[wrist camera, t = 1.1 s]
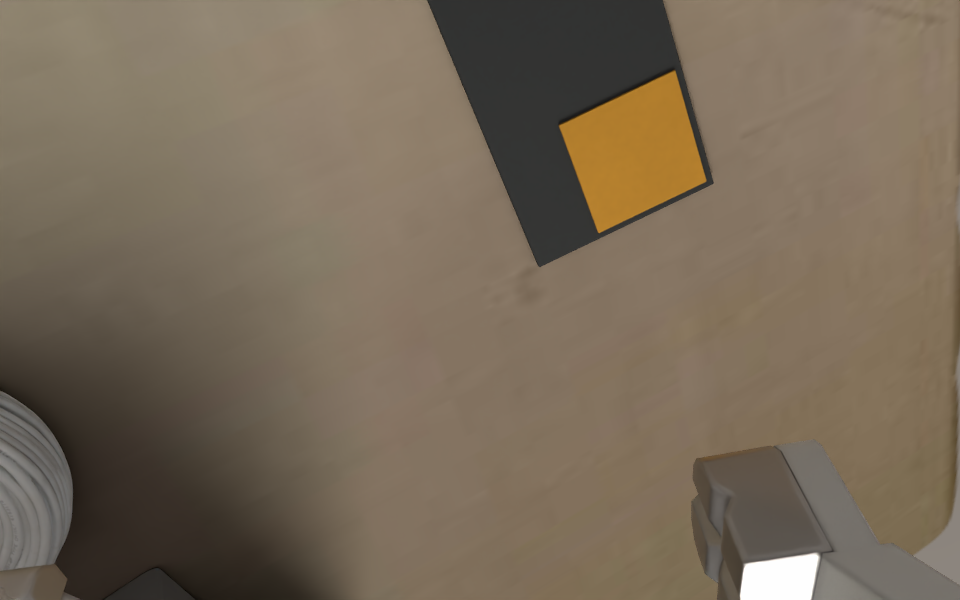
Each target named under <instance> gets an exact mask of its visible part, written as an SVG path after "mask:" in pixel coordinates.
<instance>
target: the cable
mask: <svg viewBox="0 0 960 600" xmlns="http://www.w3.org/2000/svg"><path fill="white" fill-rule="evenodd" d="M72 502H73V485H72V477H71V472H70V468H69V466H68V463H67V460H66V458H65V455H64V453H63V451H62V449H61V447H60V445H59V443H58V442H57V440H56V438H55V436H54V435H53V433H52V432H51V431H50V429H49V428H48V427H47V426H46V424H45V423H44V422H43V421H42V420H41V419H40V418H39V417H38V416H37V415H36V414H35V413H34V412H33V411H32V410H30V409H29V408H28V407H26V406H25V405H23V404H22V403H21V402H19V401H18V400H16V399H15V398H13V397H11V396H10V395H8V394H6V393H4V392H2V391H0V571H4V570H11V569H18V568H26V567H33V566H41V565H50V564H54V563H55V561H56V559H57V557H58V554H59V552H60V550H61V548H62V546H63V544H64V542H65V540H66V538H67V535H68V532H69V528H70V524H71V518H72Z"/></svg>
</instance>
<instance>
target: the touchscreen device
mask: <svg viewBox="0 0 960 600" xmlns="http://www.w3.org/2000/svg"><path fill="white" fill-rule="evenodd" d="M104 600H195V599H194V598H193V597H192V596H190V595H189V594H188V593H187V592H186V591H185V590H183V589H182V588H181V587H180V586H179V585H178V584H177V583H175V582H174V581H173V580H172V579H171V578H170V577H168V576H167V575H166V574H165V573H164V572H163V571H162V570H160V569H158V568H155V569H152V570H149V571H147V572H146V573H144V574H142V575H141V576H139V577H137V578H136V579H134V580H133V581H131V582H130V583H128V584H127V585H125V586H124V587H122V588H121V589H119V590H118V591H116V592H115V593H113V594H112V595H110V596H109V597H107V598H106V599H104Z"/></svg>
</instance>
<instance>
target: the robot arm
mask: <svg viewBox="0 0 960 600" xmlns="http://www.w3.org/2000/svg"><path fill="white" fill-rule="evenodd" d="M693 481H694V484H695V486H696V489H697V492H698V495H697V496H696V497H695V498H694V499H693V501H692V502H691V520H692V527H693V534H694V540H695V544H696V547H697V551H698V555H699V558H700V561H701V563H702V566H703V569H704V572H705V574H706V575H707V576H709V577H710V578H711V579H713V580H714V581H715V582H717V583H718V593H717V600H960V585H958V584H957V583H955V582H953V581H952V580H950V579H949V578H947V577H946V576H944V575H943V574H941V573H939V572H938V571H936V570H935V569H933V568H932V567H930V566H928V565H927V564H925V563H924V562H922V561H920V560H919V559H917V558H916V557H914V556H913V555H911V554H909V553H908V552H906V551H905V550H903V549H901V548H900V547H898V546H897V545H895V544H894V543H887V544H880V543H879V541H878V540H877V538H876V536H875V535H874V533H873V531H872V530H871V528H870V526H869V524H868V523H867V521H866V519H865V518H864V516H863V514H862V513H861V511H860V509H859V508H858V506H857V504H856V502H855V501H854V499H853V497H852V496H851V494H850V492H849V491H848V489H847V487H846V486H845V484H844V482H843V480H842V479H841V477H840V475H839V474H838V472H837V470H836V469H835V467H834V465H833V464H832V462H831V460H830V458H829V457H828V455H827V453H826V452H825V450H824V448H823V447H822V445H821V444H820V443H818V442H817V441H816V440H807V441H801V442H795V443H789V444H782V445H776V446H773V447H772V446H766V447H760V448H754V449H748V450H743V451H737V452H731V453H725V454H720V455H714V456H708V457H703V458H697V459H696V460H695V462H694V465H693ZM66 582H67V578H66V577H65V576H64V574H63V573H62V572H61V570H60V569H59V568H58V567H57V565H56V564H50V565H41V566H33V567H26V568H18V569H11V570H4V571H0V600H81V599H79V598H76V597H74V596H72V595H70V594H67V593H65V592H63V591H64V588H65V585H66Z"/></svg>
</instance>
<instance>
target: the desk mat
mask: <svg viewBox="0 0 960 600" xmlns="http://www.w3.org/2000/svg"><path fill="white" fill-rule="evenodd" d="M427 1H428V3H429V5H430V8H431V10H432V13H433V15H434V17H435V20H436V22H437V25H438V27H439V29H440V32H441V34H442V37H443V39H444V41H445V44H446V46H447V49H448V51H449V53H450V56H451V58H452V61H453V63H454V65H455V68H456V70H457V73H458V75H459V77H460V80H461V82H462V85H463V87H464V89H465V92H466V94H467V96H468V99H469V101H470V104H471V106H472V108H473V111H474V113H475V116H476V118H477V120H478V123H479V125H480V128H481V130H482V132H483V135H484V137H485V140H486V142H487V144H488V147H489V149H490V152H491V154H492V156H493V159H494V161H495V164H496V166H497V168H498V171H499V173H500V176H501V178H502V180H503V183H504V185H505V188H506V190H507V192H508V195H509V197H510V200H511V202H512V204H513V207H514V209H515V212H516V214H517V216H518V219H519V221H520V224H521V226H522V228H523V231H524V233H525V236H526V238H527V240H528V243H529V245H530V248H531V250H532V252H533V255H534V257H535V259H536V262H537V264H538V266H539V267H541V266H543V265H545V264H547V263H549V262H551V261H553V260H556V259H558V258H560V257H562V256H564V255H566V254H568V253H570V252H572V251H574V250H576V249H578V248H581V247H583V246H585V245H587V244H589V243H591V242H593V241H595V240H597V239H599V238H601V237H603V236H606V235H608V234H610V233H612V232H614V231H616V230H618V229H620V228H622V227H624V226H626V225H628V224H631V223H633V222H635V221H637V220H639V219H641V218H643V217H645V216H647V215H649V214H651V213H653V212H656V211H658V210H660V209H662V208H664V207H666V206H668V205H670V204H672V203H674V202H676V201H678V200H681V199H683V198H685V197H687V196H689V195H691V194H693V193H695V192H697V191H699V190H701V189H703V188H706V187H708V186H710V185H712V184H713V180H712V176H711V172H710V169H709V165H708V162H707V158H706V154H705V151H704V147H703V144H702V140H701V136H700V133H699V129H698V126H697V122H696V119H695V115H694V111H693V108H692V104H691V101H690V97H689V93H688V90H687V86H686V83H685V79H684V76H683V72H682V68H681V65H680V61H679V58H678V54H677V50H676V47H675V43H674V40H673V36H672V32H671V29H670V25H669V22H668V18H667V15H666V11H665V7H664V4H663V0H427Z"/></svg>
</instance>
